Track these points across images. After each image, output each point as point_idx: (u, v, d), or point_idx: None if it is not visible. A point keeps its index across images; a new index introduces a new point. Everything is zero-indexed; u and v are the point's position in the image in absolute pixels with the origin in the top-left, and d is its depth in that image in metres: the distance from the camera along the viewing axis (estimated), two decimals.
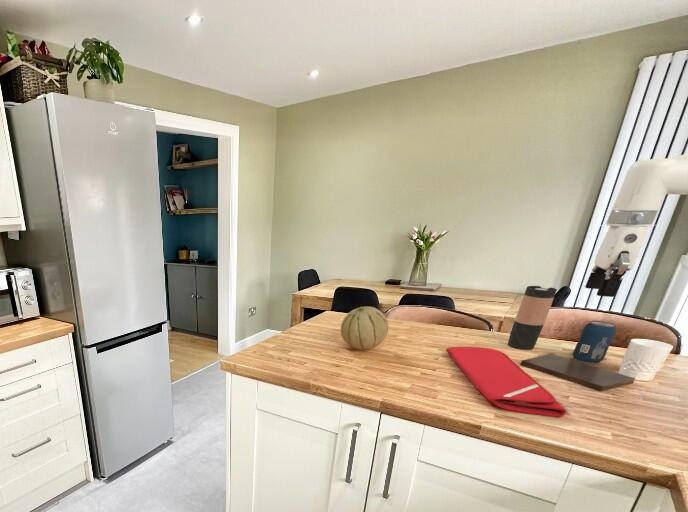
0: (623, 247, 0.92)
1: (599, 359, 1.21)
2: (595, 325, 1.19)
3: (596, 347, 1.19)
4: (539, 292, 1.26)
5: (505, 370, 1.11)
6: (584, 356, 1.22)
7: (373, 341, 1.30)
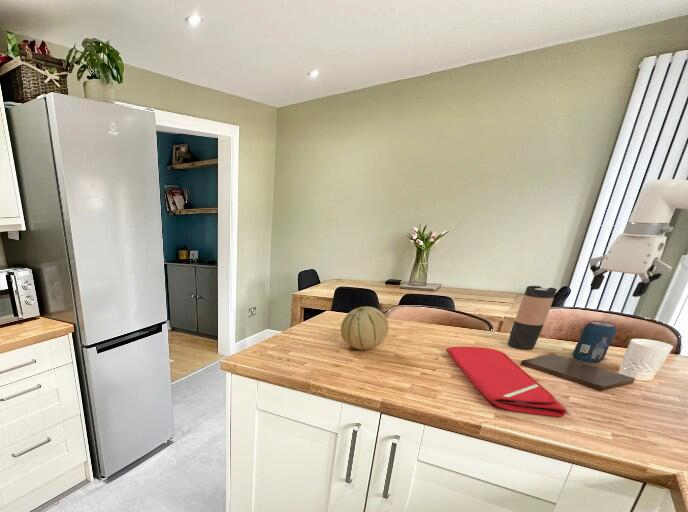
0: (656, 254, 1.06)
1: (599, 359, 1.21)
2: (595, 325, 1.19)
3: (596, 347, 1.19)
4: (539, 292, 1.26)
5: (505, 370, 1.11)
6: (584, 356, 1.22)
7: (373, 341, 1.30)
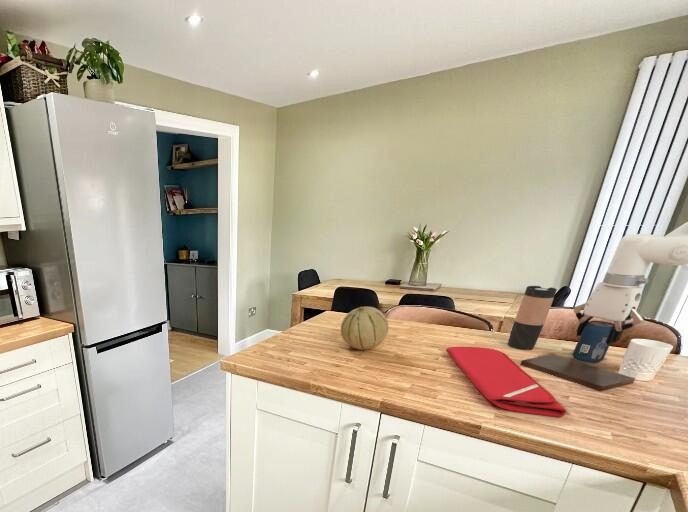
0: (634, 304, 1.12)
1: (599, 359, 1.21)
2: (595, 325, 1.19)
3: (596, 347, 1.19)
4: (539, 292, 1.26)
5: (505, 370, 1.11)
6: (583, 356, 1.22)
7: (373, 341, 1.30)
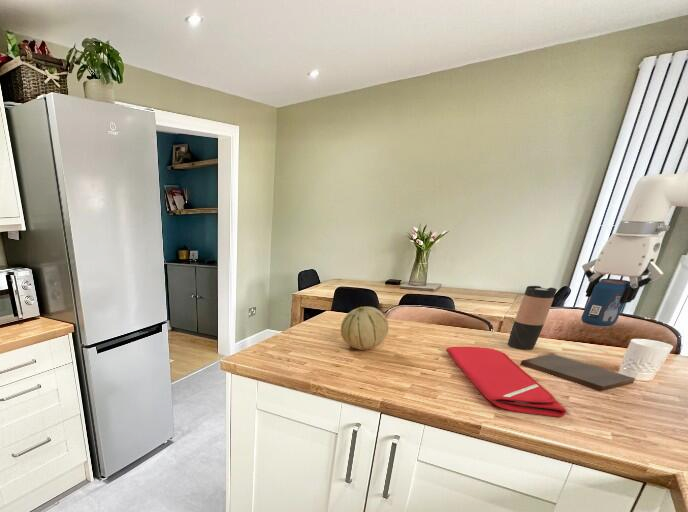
0: (652, 255, 0.98)
1: (612, 321, 1.07)
2: (607, 282, 1.05)
3: (608, 307, 1.06)
4: (539, 292, 1.26)
5: (505, 370, 1.11)
6: (594, 318, 1.08)
7: (373, 341, 1.30)
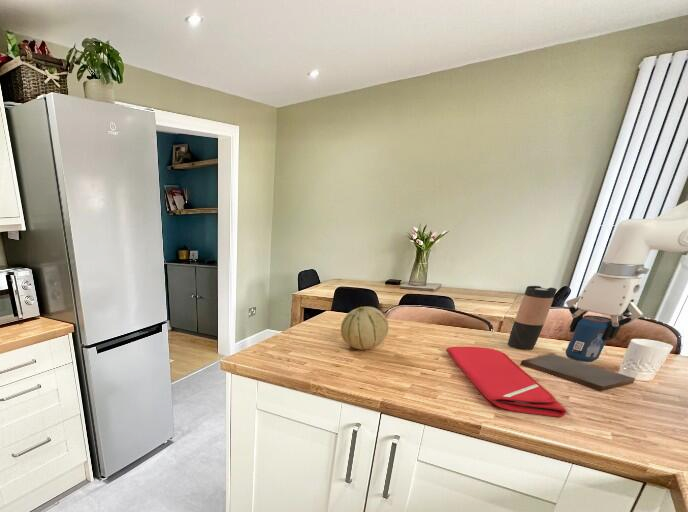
0: (632, 296, 1.01)
1: (594, 357, 1.10)
2: (590, 320, 1.08)
3: (591, 344, 1.09)
4: (539, 292, 1.26)
5: (505, 370, 1.11)
6: (577, 354, 1.11)
7: (373, 341, 1.30)
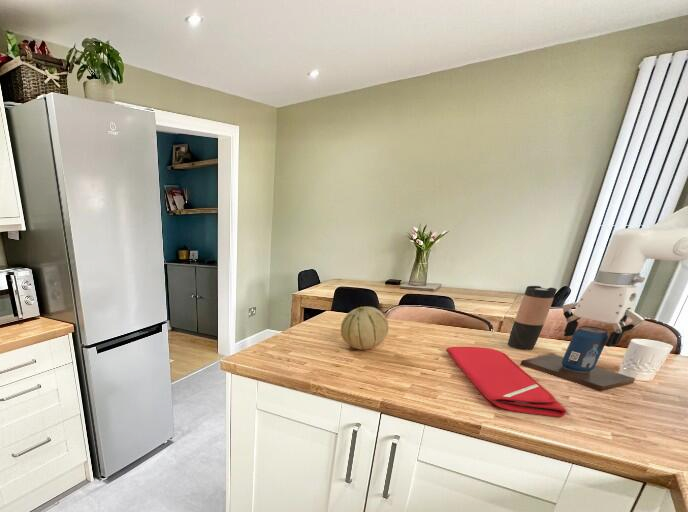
0: (628, 305, 1.02)
1: (590, 368, 1.11)
2: (585, 331, 1.09)
3: (586, 354, 1.10)
4: (539, 292, 1.26)
5: (505, 370, 1.11)
6: (573, 364, 1.13)
7: (373, 341, 1.30)
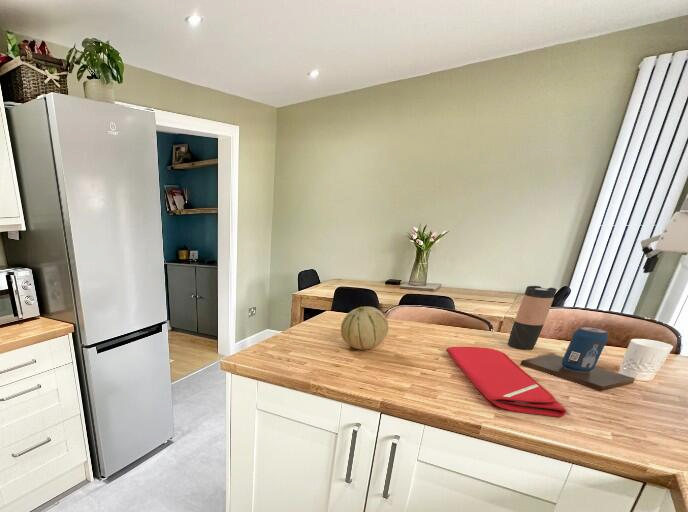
0: None
1: (590, 368, 1.11)
2: (585, 331, 1.09)
3: (586, 354, 1.10)
4: (539, 292, 1.26)
5: (505, 370, 1.11)
6: (573, 364, 1.13)
7: (373, 341, 1.30)
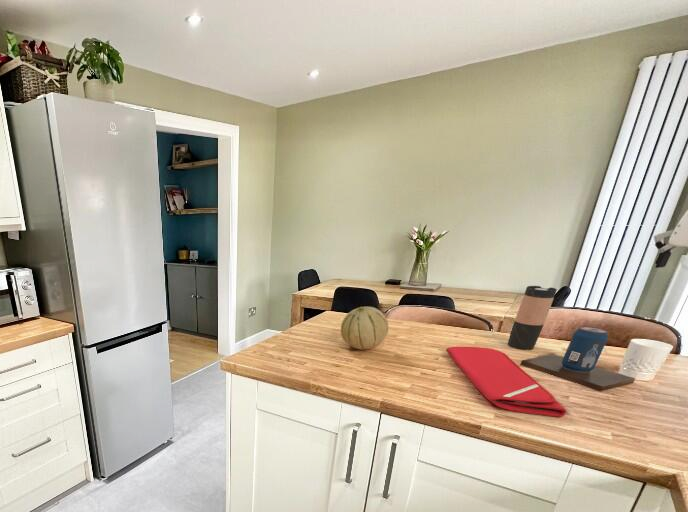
0: None
1: (590, 368, 1.11)
2: (585, 331, 1.09)
3: (586, 354, 1.10)
4: (539, 292, 1.26)
5: (505, 370, 1.11)
6: (573, 364, 1.13)
7: (373, 341, 1.30)
